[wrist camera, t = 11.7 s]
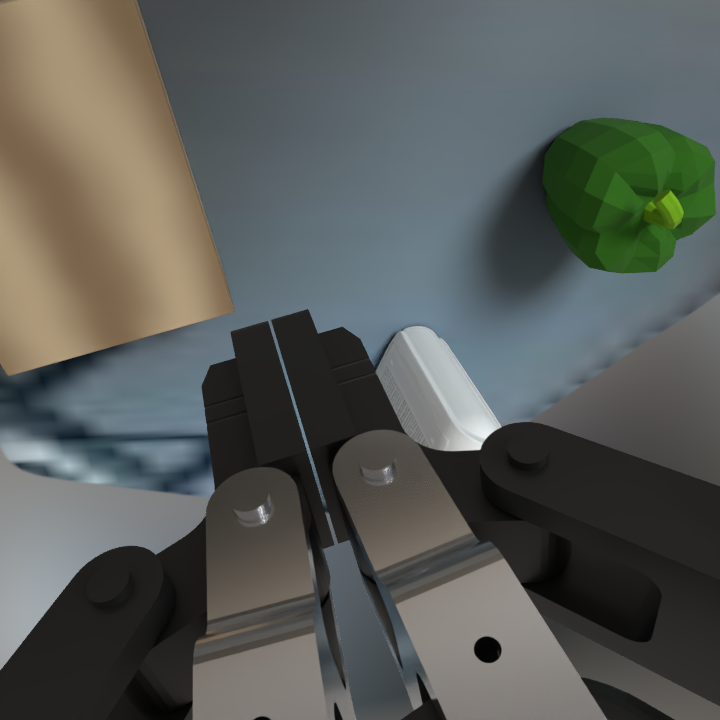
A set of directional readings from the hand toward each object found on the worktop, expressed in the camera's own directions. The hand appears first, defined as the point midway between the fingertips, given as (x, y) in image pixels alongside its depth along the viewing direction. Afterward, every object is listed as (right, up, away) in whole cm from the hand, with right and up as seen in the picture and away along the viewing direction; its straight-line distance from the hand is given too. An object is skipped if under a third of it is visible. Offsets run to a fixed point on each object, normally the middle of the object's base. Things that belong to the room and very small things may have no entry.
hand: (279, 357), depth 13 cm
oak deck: (-13, +9, +20) cm, 26 cm away
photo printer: (+4, -2, +35) cm, 35 cm away
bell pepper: (+15, +12, +29) cm, 35 cm away
